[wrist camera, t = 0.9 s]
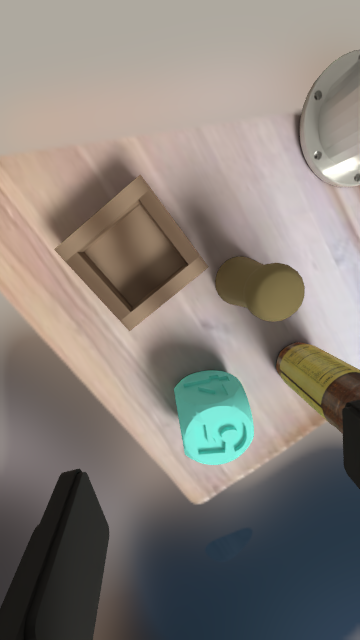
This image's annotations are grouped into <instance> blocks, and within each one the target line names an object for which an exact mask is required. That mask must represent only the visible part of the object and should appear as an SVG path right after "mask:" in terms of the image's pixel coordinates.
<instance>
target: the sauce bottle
mask: <svg viewBox="0 0 360 640" xmlns="http://www.w3.org/2000/svg"><path fill="white" fill-rule="evenodd" d="M276 369H277V372H278V374H279V375H280V376H281V378H282V379H283V380H284V382H285V383H286V384H287V385H288V386H289V387H290V388H292V389H293V390H294V391H295V392H296V393H297V394H298V395H299V396H300V397H301V398H303V399H304V400H305V401H306V402H307V403H308V404H309V405H310V406H311V407H312V408H314V409H315V410H316V411H317V412H318V413H319V414H320V415H321V416H322V417H323V418H324V419H325V420H327V421H328V422H329V423H330V424H331V425H333V426H335V427H336V428H337V429H338V430H339V431H340V432H341V433H343V421H342V409H343V408H345V405H346V403H348V402H351V401H356V400H360V370H359V369H357V368H355V367H353V366H351V365H349V364H347V363H346V362H344V361H342V360H340V359H338V358H336V357H334V356H333V355H331V354H329V353H327V352H325V351H323V350H321V349H319V348H317V347H315V346H313V345H310V344H305V343H300V342H299V343H298V342H297V343H294V344H291V345H289V346H287V347H285V348H284V349H283V350H282V351H281V352H280V354H279V356H278V359H277V364H276Z"/></svg>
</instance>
